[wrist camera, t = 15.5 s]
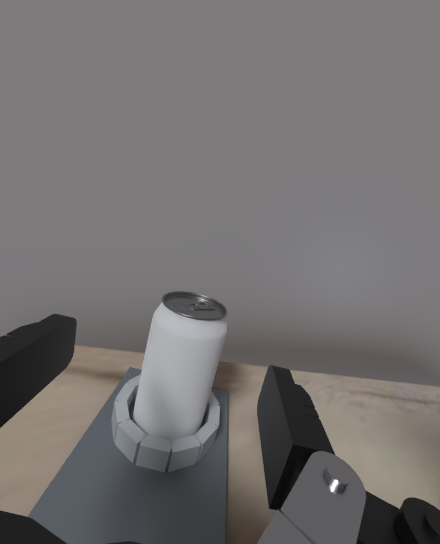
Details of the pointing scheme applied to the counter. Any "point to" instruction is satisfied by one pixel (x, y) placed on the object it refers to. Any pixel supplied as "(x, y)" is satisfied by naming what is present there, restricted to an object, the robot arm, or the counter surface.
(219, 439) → the holder
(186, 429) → the can
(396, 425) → the counter surface
